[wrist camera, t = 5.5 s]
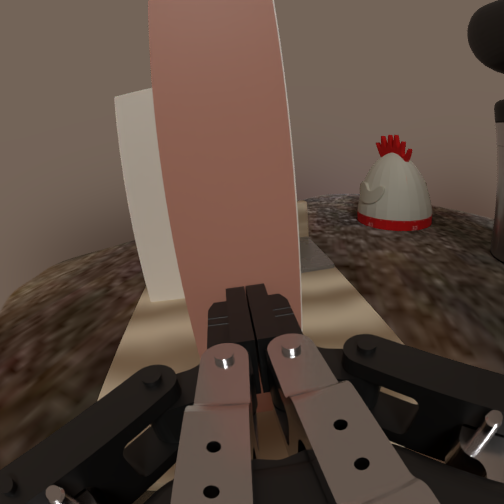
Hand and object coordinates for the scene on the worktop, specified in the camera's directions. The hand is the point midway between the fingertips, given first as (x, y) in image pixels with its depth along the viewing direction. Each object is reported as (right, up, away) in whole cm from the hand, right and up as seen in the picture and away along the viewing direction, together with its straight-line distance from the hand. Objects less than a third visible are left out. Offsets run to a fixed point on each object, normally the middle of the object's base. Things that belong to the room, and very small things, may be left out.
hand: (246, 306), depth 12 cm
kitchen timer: (+26, +8, +36) cm, 45 cm away
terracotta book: (0, -3, +11) cm, 11 cm away
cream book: (-8, 0, +21) cm, 22 cm away
